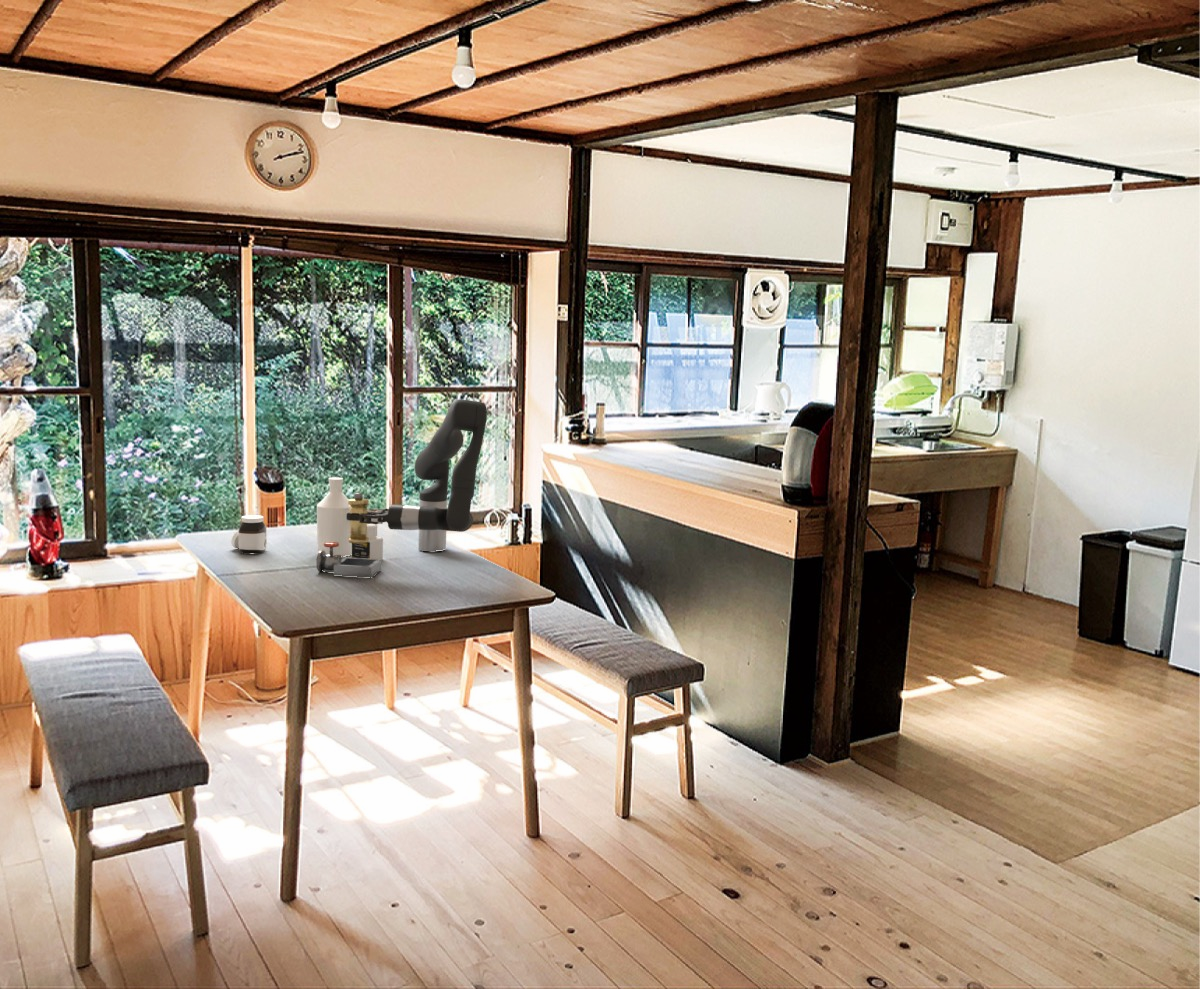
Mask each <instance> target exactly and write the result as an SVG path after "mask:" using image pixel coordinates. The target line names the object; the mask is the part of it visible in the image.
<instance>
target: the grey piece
mask: <svg viewBox="0 0 1200 989" xmlns="http://www.w3.org/2000/svg"><path fill="white" fill-rule="evenodd" d="M324 546H325V547H330V554H326V552H325V551H321V550H320V551H319V553H318V554H317V555H316V556H317V557H316V570H317V571H318V572H319V571H322V570H323V571H325V572H334V573H333V576H334V575H342V576H357V577H370V578H371V577H373V576H374V575H375V574H376V573H378V572H379V571H380V570H381V571H382V560H381V559H368V558H352V557H351V556H348V557H341V555H334V554H333V547H338V546H339V543H338V542H325V543H324ZM381 571H380V572H381ZM380 572H379V573H380ZM379 573H378V574H379ZM376 575H377V574H376ZM376 575H375V576H376ZM375 576H374V577H375ZM374 577H373V578H374Z"/></svg>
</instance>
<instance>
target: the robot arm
mask: <svg viewBox="0 0 1200 989" xmlns="http://www.w3.org/2000/svg"><path fill="white" fill-rule="evenodd" d="M486 405H487V404H485V403H484V402H482V401H476V400H467V399H461V398H458V399H455V400H454V401H453V402H452V403H451V404H450V406H449V408H448V410H447V413H446V415H445V417H444V418H443V421H442V423H441V425H440V426H439V427H438V429H437V430H436V432H435V433H434V435H433V436H432V438H431V440H430V441H429V443H428V444H427V445H426V446H425V448H424V449H422V450H421V451H420V452H419V453H418V455H417V457H416V460H415V462H414V472H415V475H416V477H417V478H418V479H420V480H424V481H434V483H433V484H432V485H431V486H429V487H427V488H424V489H422V490H421V491H419V496H418V497H419V498H418V499H419V500H418V501H419V503H418V504H419V505H413V504H393V503H392V504H390V505H389V507H388V508H370V507H369V508H367V513H347V520H351V521H359V523H368V524H376V525H383V523H387V526H388V528H389V529H390V530H401V531H418V551H420V550H422V551H421V552H423V551H436V550H443V549H445V548H446V549H447V531H449V532H457V533H459V532H461V533H462V532H466V531H468V530H470V529H471V528H472V525H473V523H474V518H473V515H472V512H471V507H472V506H471V505H472V500H473V498H474V494H475V488H476V487H475V486H476V475H477V469H478V464H479V458H480V454H481V451H482V450H481V449H482V446H483V442H484V436H485V431H486V427H487V426H486V425H487V422H488V421H487V418H488V408H487V406H486ZM462 431H465V432H471V433H472V436H471V440H470V443H469V444H468V447H467V448H466V449H465V451H464V452H463V454H462V455H461V456H460V457H459V458H458V460H457V462H456V464H455V466H454V467H453V470H452V475H451V483H450V484H451V485H450V496H449V500H448V492H449V491H448V490H449V474H450V459H452V458H454V457H455V456H456V455H457V454H458V452H459V451H460V450H461V448H462V447H463V444H464V433H463V432H462ZM364 517H366V519H364Z"/></svg>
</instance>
